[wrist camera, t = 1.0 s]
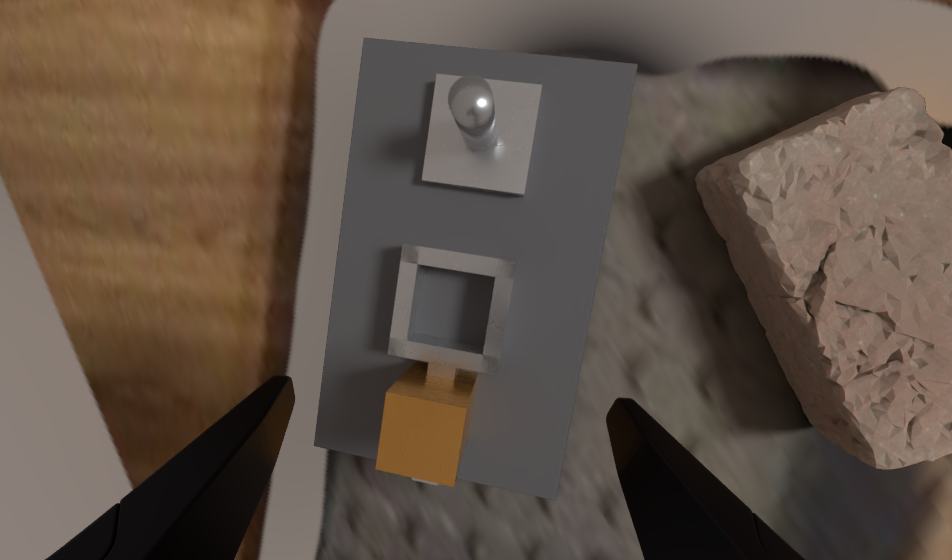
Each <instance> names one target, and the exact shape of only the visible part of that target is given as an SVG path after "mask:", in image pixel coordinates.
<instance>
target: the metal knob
mask: <svg viewBox="0 0 952 560" xmlns="http://www.w3.org/2000/svg"><path fill="white" fill-rule="evenodd" d="M541 90H542V85H540V84H530V83H521V82H511V81H502V80H492V79H483V78H481V77H479V76H476V75H467V76H455V75H445V74H437V75H436V82H435V89H434V96H433V103H432V110H431V117H430V124H429V131H428V139H427V146H426V153H425V160H424V167H423V174H422V181H423V182H425V183H429V184H436V185H443V186H450V187H458V188H465V189H472V190H479V191H486V192H493V193H501V194H508V195H515V196H522V197H524V192H525V186H526V180H527V174H528V168H529V162H530V156H531V150H532V144H533V138H534V132H535V126H536V120H537V114H538V108H539V102H540V96H541Z"/></svg>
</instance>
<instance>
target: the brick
mask: <svg viewBox="0 0 952 560" xmlns="http://www.w3.org/2000/svg"><path fill="white" fill-rule="evenodd" d="M943 136H944V133H943V131H942V130H941V128H940V127H939V125H938V124H937V122H936V121H935V120H934V119H932V118H931V117H930V116H929V115H928V114H927V113H926V106H925V98H924V97H922V96H921V95H920V94H919V93H918V92H917V91H916V90H913V89H909V88H901V87H899V88H896V89H892V90H889V91H886V92H877V91H876V92H873V93H869V94H866V95H862V96H859V97H856V98H854V99H851V100H849V101H847V102H844V103H842V104H840V105H838V106H836V107H834V108H832V109H830V110H828V111H826V112H823V113H821V114H820V115H817V116H814V117H811V118H810V119H809V120H806V121H804V122H801V123H799V124H797V125H795V126H794V127H791V128H789V129H787V130H784V131H782V132H780V133H778V134H776V135H774V136H772V137H770V138H768V139H766V140H764V141H762V142H760V143H758V144H756V145H753V146H751V147H749V148H747V149H744V150H742V151H740V152H737V153H735V154H731V155H728V156H725V157H722V158H720V159H719V160H717V161H716V162H714V163H712V164H710V165H708V166H706V167H704V168H703V169H702V170H700V171H699V172H698V173H697V175H696V178H695V181H696V184H697V187H696V189H697V191H698V192H699V194H700V196H701V199H702V201H703V206H704V209H705V211H706V212H707V214H708V216H709V218H710V220H711V222H712V224H713V225H714V227H715V229H716V230H717V232H718V234H719V235H720V236H721V237H722V238H723V239H724V240H725V241H726V247H727V249H728V253H729V256H730V259H731V262H732V265H733V268H734V270H735V272H736V273H737V274H738V276H739V278H740V280H741V281H742V282H743V284H744V285H745V288H746V291H747V295H748V300H749V302H750V304H751V305H752V307H753V309H754V310H755V313H756V315H757V317H758V320H759V322H760V324H761V325H762V326H763V327H764V329H765V330H766V337H767V339H768V341H769V343H770V345H771V347H772V349H773V351H774V354H776V357H777V359H778V362H779V364H780V366H781V367H782V369H783V372H784V374H785V376H786V378H787V380H788V382H789V384H790V386H791V387H792V389H793V390H794V392H795V394H796V396H797V398H798V400H799V402H800V403H801V406H802V409H803V412H804V413H805V414H806V416H807V418H808V420H809V422H810V423H811V424H812V425H813V426H814V427H815V428H816V430H817V431H819V432H820V433H821V434H822V435H823V436H824V437H826V438H827V439H828V440H830V441H831V442H832V443H834V444H837V445H839V446H840V447H841V448H843V449H844V450H845V451H846V452H848V453H849V454H850V455H853V456H856V457H857V458H858V459H860V460H861V461H862V462H865V463H867V464H869V465H871V466H873V467H875V468H878V469H896V468H901V467H905V466H909V465H912V464H915V463H918V462H921V461H923V460H924V461H934V460H936V459H938V458H940V457H942V456H945V455H948V454H951V453H952V150H951V148H950V147H948V146H946V145H944V144H943V143H941V142H942V139H943Z"/></svg>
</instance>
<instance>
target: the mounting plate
mask: <svg viewBox="0 0 952 560" xmlns="http://www.w3.org/2000/svg"><path fill="white" fill-rule="evenodd" d="M636 70H637V64H630V63H620V62H610V61H599V60H589V59H579V58H568V57H558V56H548V55H538V54H527V53H517V52H506V51H496V50H486V49H475V48H466V47H455V46H444V45H435V44H424V43H414V42H404V41H393V40H383V39H373V38H364V41H363V48H362V57H361V65H360V73H359V81H358V89H357V97H356V106H355V114H354V122H353V131H352V138H351V147H350V155H349V163H348V171H347V180H346V188H345V196H344V204H343V212H342V220H341V228H340V236H339V245H338V253H337V261H336V270H335V277H334V286H333V294H332V303H331V310H330V318H329V327H328V336H327V343H326V351H325V359H324V367H323V375H322V384H321V392H320V400H319V409H318V417H317V425H316V434H315V441H314V446H317V447H321V448H326V449H330V450H334V451H339V452H343V453H348V454H352V455H356V456H361V457H365V458H370V459H374V460H377V454H378V447H379V440H380V433H381V426H382V419H383V411H384V404H385V397H386V392H387V391H388V390H389V389H390V388H391V386H392V385H393V384H394V383H395V382H396V381H397V380H398V379H399V378H400V377H401V376H402V375H403V374H404V373H405V372H406V371H407V370H408V369H409V368H410V367H411V366H412V364H413V363H414V362H415V361H417V362H423V363H429V362H425V361H420V360H415V359H409V358H404V357H399V356H394V355H389V354H388V347H389V340H390V332H391V325H392V318H393V311H394V303H395V296H396V289H397V282H398V274H399V267H400V260H401V253H402V246H403V244H411V245H418V246H424V247H431V248H437V249H443V250H449V251H456V252H462V253H468V254H475V255H481V256H487V257H494V258H500V259H506V260H512V261H517V262H516V268H515V274H514V280H513V286H512V292H511V298H510V304H509V310H508V316H507V322H506V328H505V334H504V340H503V346H502V352H501V358H500V364H499V370H498V376H497V375H492V374H487V373H482V372H476V371H471V370H466V369H461V368H459V370H464V371H469V372H474V373H478V376H477V383H476V389H475V395H474V401H473V407H472V414H471V420H470V426H469V432H468V437H467V441H466V444H465V448H464V452H463V456H462V459H461V463H460V467H459V471H458V474H457V478H458V479H462V480H467V481H471V482H475V483H480V484H484V485H489V486H493V487H497V488H502V489H506V490H511V491H515V492H519V493H524V494H528V495H533V496H537V497H542V498H546V499H550V500H555V501H556V497H557V492H558V486H559V481H560V476H561V470H562V465H563V460H564V454H565V449H566V444H567V438H568V433H569V428H570V422H571V417H572V412H573V406H574V401H575V396H576V390H577V385H578V380H579V374H580V369H581V364H582V358H583V353H584V348H585V342H586V337H587V332H588V326H589V321H590V316H591V310H592V305H593V300H594V294H595V289H596V284H597V278H598V273H599V268H600V262H601V257H602V252H603V246H604V241H605V236H606V230H607V225H608V220H609V214H610V209H611V204H612V198H613V193H614V188H615V182H616V177H617V172H618V166H619V161H620V156H621V150H622V145H623V140H624V134H625V129H626V124H627V118H628V113H629V108H630V102H631V97H632V92H633V86H634V81H635V76H636ZM437 74H445V75H455V76H467V75H476V76H479V77H481V78H483V79H492V80H502V81H511V82H521V83H530V84H540V85H542V90H541V96H540V102H539V108H538V114H537V120H536V126H535V132H534V138H533V144H532V150H531V156H530V162H529V168H528V174H527V180H526V186H525V192H524V197H522V196H515V195H508V194H501V193H493V192H486V191H479V190H472V189H465V188H458V187H450V186H443V185H436V184H429V183H425V182H423V181H422V174H423V167H424V160H425V153H426V146H427V139H428V131H429V124H430V117H431V110H432V103H433V96H434V89H435V82H436V75H437ZM494 282H495V277H493V276H487V275H481V274H475V273H469V272H463V271H457V270H451V269H444V268H438V267H432V266H426V271H425V278H424V285H423V292H422V299H421V306H420V313H419V320H418V327H417V333H420V334H426V335H431V336H436V337H442V338H447V339H453V340H458V341H463V342H469V343H474V344H480V345H484V344H485V338H486V332H487V325H488V319H489V313H490V307H491V301H492V295H493V288H494Z"/></svg>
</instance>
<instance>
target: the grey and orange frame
mask: <svg viewBox="0 0 952 560" xmlns="http://www.w3.org/2000/svg"><path fill="white" fill-rule="evenodd" d="M516 262H517V261H512V260H506V259H500V258H494V257H487V256H481V255H475V254H468V253H462V252H456V251H449V250H443V249H437V248H431V247H424V246H418V245H411V244H403V246H402V253H401V260H400V267H399V274H398V282H397V289H396V296H395V303H394V311H393V318H392V325H391V332H390V340H389V347H388V354H389V355H394V356H399V357H404V358H409V359H415V360H420V361H425V362H429V363H423V362H417V361H415V362H414V363H413V364H412V366H411V367H410V368H409V369H408V370H407V371H406V372H405V373H404V374H403V375H402V376H401V377H400V378H399V379H398V380H397V381H396V382H395V383H394V384H393V385H392V386H391V388H390V389H389V390H388V391H387V392H386V397H385V404H384V411H383V419H382V426H381V433H380V440H379V447H378V454H377V462H376V469H377V470H381V471H386V472H390V473H394V474H399V475H403V476H407V477H412V480H415V481H420V482H424V483H428V484H433V485H437V486H438V484H442V485H446V486H451V487H454V486H455V482H456V478H457V474H458V471H459V467H460V463H461V459H462V456H463V452H464V448H465V444H466V441H467V437H468V432H469V426H470V420H471V414H472V407H473V401H474V395H475V389H476V383H477V376H478V373H474V372H469V371H464V370H459V368H461V369H466V370H471V371H476V372H482V373H487V374H492V375H497V376H498V370H499V364H500V358H501V352H502V346H503V340H504V334H505V328H506V322H507V316H508V310H509V304H510V298H511V292H512V286H513V280H514V274H515V268H516ZM426 266H432V267H438V268H444V269H451V270H457V271H463V272H469V273H475V274H481V275H487V276H493V277H495V282H494V288H493V295H492V301H491V307H490V313H489V319H488V325H487V332H486V338H485V344H484V345H480V344H474V343H469V342H463V341H458V340H453V339H447V338H442V337H436V336H431V335H426V334H420V333H417V327H418V320H419V313H420V306H421V299H422V292H423V285H424V278H425V271H426Z"/></svg>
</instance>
